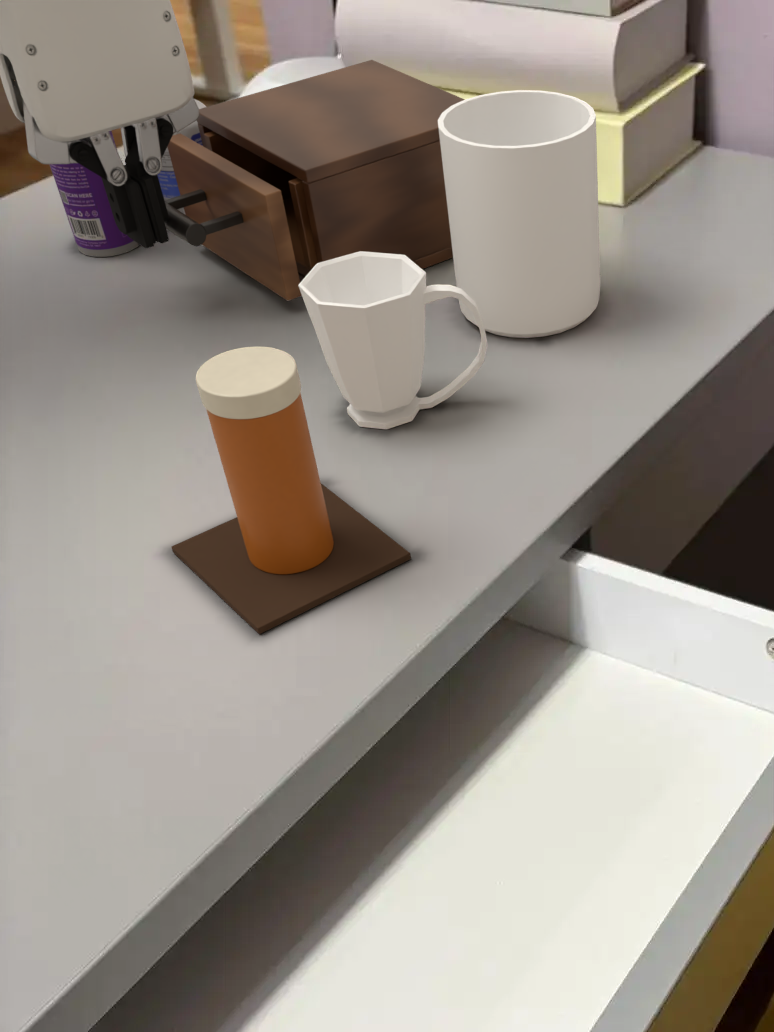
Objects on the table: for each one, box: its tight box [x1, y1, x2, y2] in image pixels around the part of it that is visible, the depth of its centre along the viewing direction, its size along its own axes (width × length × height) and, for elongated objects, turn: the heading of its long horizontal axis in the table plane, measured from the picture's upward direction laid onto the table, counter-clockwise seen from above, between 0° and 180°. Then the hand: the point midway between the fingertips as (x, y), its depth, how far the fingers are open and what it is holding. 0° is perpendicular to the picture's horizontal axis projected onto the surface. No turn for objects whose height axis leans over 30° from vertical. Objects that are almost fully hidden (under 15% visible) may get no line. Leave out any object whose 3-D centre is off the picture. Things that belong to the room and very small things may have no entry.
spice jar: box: [195, 345, 334, 574], centre depth 61 cm, size 5×5×10 cm
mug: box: [438, 89, 601, 339], centre depth 79 cm, size 10×12×12 cm
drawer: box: [164, 131, 318, 302], centre depth 85 cm, size 18×13×7 cm
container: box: [49, 130, 141, 258], centre depth 86 cm, size 5×5×15 cm
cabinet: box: [197, 59, 465, 282], centre depth 87 cm, size 15×15×9 cm
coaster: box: [170, 483, 412, 635], centre depth 65 cm, size 9×9×1 cm
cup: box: [298, 251, 488, 430], centre depth 71 cm, size 7×10×8 cm
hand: (147, 238), depth 81 cm, fingers closed
